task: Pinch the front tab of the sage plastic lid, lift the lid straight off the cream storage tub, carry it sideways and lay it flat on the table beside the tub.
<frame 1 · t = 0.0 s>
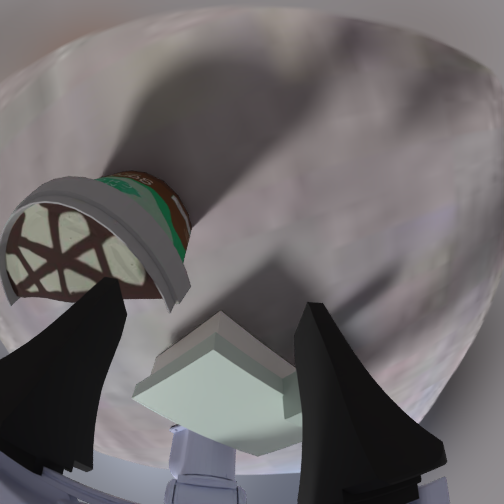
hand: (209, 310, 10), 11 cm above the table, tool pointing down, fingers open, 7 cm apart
lid: (242, 406, 23), point 4 cm above the table, touching tub
tub: (242, 376, 27), on the table
food container: (128, 195, 19), on the table
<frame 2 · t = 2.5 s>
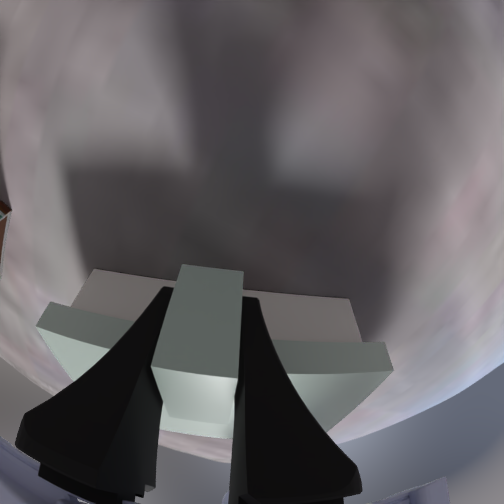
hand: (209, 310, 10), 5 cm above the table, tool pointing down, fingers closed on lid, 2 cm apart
lid: (208, 387, 15), point 4 cm above the table, touching gripper, tub
tub: (214, 338, 18), on the table
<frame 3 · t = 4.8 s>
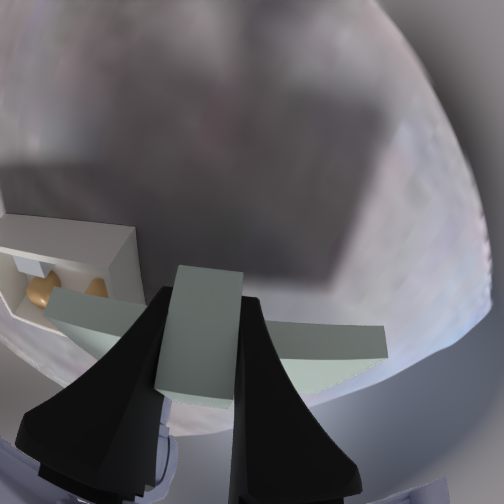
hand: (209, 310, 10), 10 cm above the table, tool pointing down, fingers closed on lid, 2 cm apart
lid: (212, 350, 17), point 7 cm above the table, tilted 17°, touching gripper
tub: (69, 264, 22), on the table
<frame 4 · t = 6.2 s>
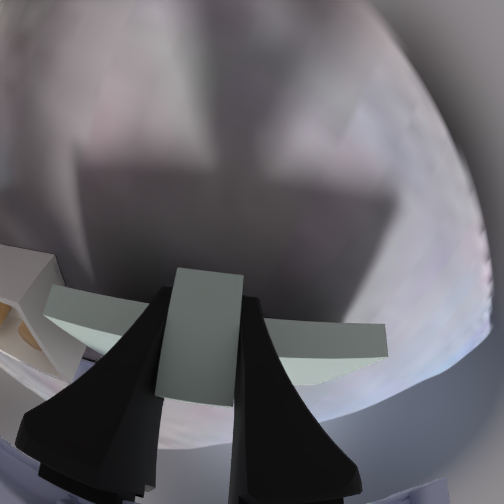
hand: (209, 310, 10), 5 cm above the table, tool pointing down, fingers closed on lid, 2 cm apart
lid: (212, 343, 17), point 2 cm above the table, tilted 21°, touching gripper
tub: (13, 287, 18), on the table
when the fingers open (2 cm above the table, at t = 7.5 s): lid stays where it is, on the table.
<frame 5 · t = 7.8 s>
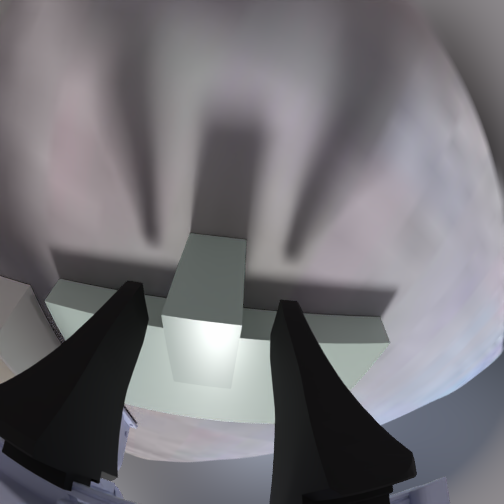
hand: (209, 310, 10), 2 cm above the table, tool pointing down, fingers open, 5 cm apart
lid: (210, 366, 16), on the table
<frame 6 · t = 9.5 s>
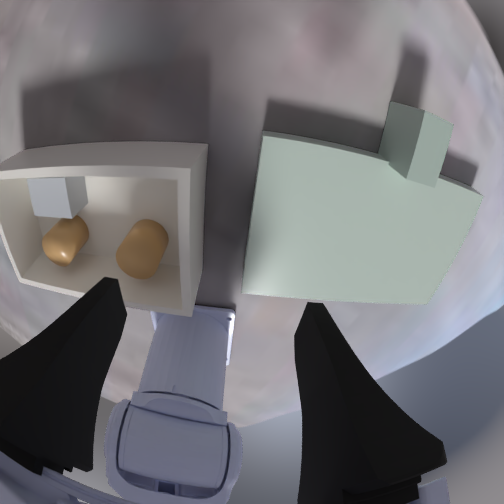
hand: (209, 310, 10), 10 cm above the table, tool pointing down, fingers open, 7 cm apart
lid: (367, 229, 19), on the table
tub: (103, 205, 18), on the table
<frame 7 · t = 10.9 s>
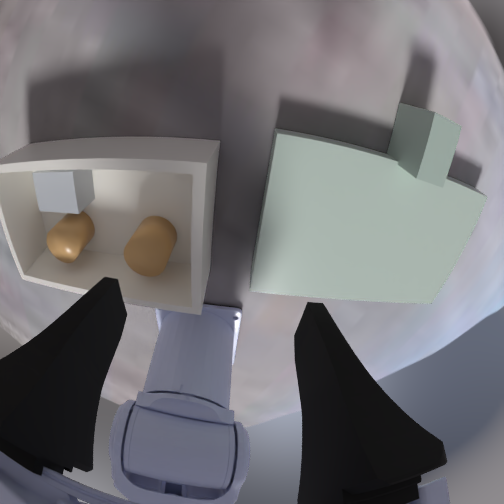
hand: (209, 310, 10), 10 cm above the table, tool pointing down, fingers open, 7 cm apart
lid: (375, 228, 19), on the table
tub: (110, 201, 18), on the table
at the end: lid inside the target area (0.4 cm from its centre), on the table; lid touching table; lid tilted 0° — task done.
